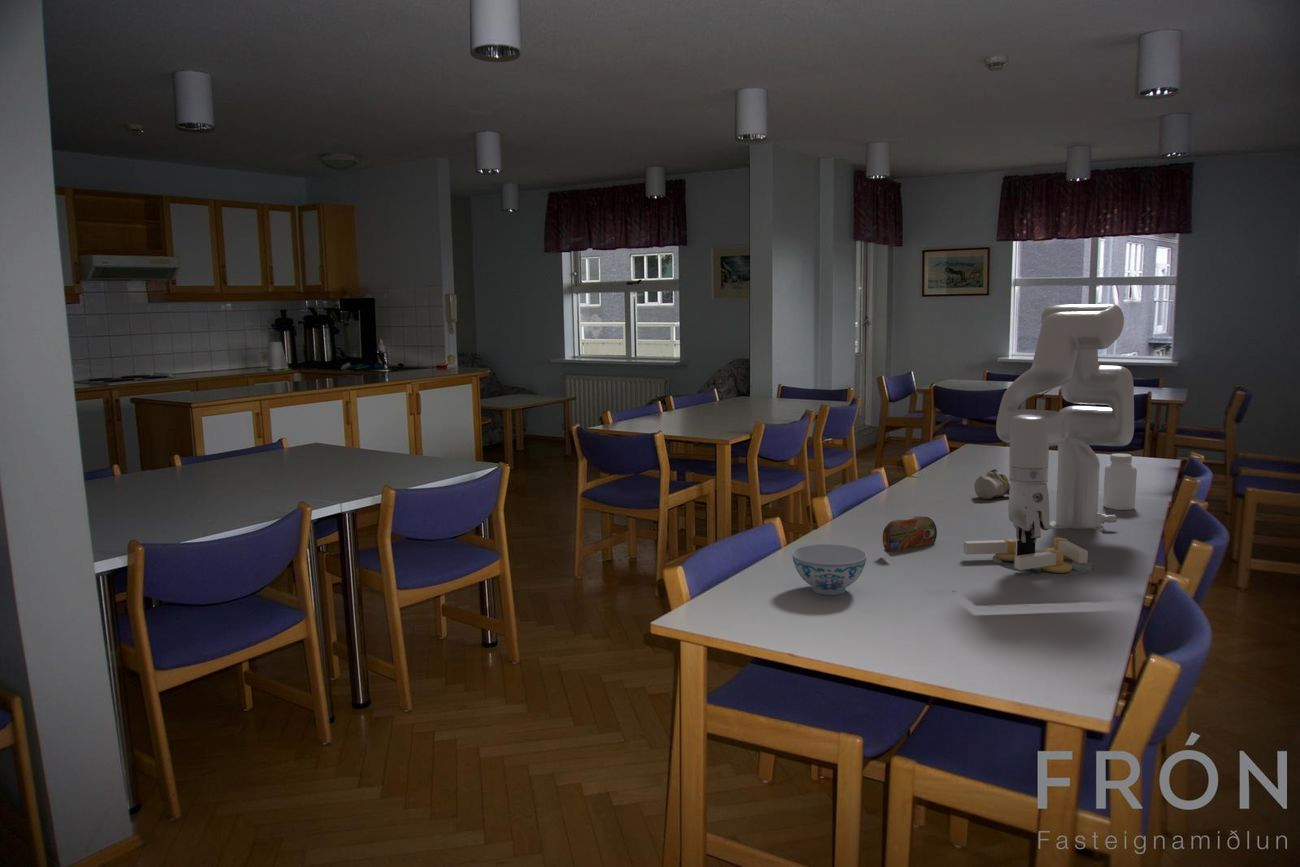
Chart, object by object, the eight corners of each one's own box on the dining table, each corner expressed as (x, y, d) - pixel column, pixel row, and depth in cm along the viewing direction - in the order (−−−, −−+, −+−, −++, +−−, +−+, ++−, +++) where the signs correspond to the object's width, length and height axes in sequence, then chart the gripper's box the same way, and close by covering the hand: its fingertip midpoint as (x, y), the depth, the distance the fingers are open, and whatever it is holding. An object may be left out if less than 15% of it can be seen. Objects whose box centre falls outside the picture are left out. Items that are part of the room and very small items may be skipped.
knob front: (1056, 563, 192) (1057, 546, 192) (1078, 571, 187) (1079, 553, 186) (1007, 570, 188) (1007, 553, 188) (1027, 578, 182) (1028, 560, 182)
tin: (889, 559, 206) (889, 523, 204) (879, 555, 208) (880, 520, 207) (937, 549, 212) (938, 515, 211) (927, 546, 215) (928, 512, 214)
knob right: (1040, 552, 201) (1040, 535, 201) (1066, 551, 201) (1067, 535, 201) (1068, 568, 188) (1069, 551, 188) (1096, 567, 188) (1097, 550, 188)
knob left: (1017, 553, 201) (1017, 536, 201) (1029, 560, 195) (1029, 543, 195) (959, 555, 201) (960, 538, 200) (970, 562, 195) (970, 545, 194)
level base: (1064, 554, 205) (1064, 541, 205) (1111, 580, 186) (1111, 565, 185) (977, 557, 205) (978, 543, 204) (1016, 583, 185) (1016, 568, 185)
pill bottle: (1104, 509, 249) (1106, 456, 247) (1101, 503, 256) (1104, 452, 254) (1136, 511, 246) (1139, 457, 244) (1133, 505, 253) (1135, 453, 251)
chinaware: (851, 606, 174) (852, 567, 173) (780, 594, 182) (780, 557, 181) (876, 585, 186) (876, 549, 185) (808, 575, 194) (808, 540, 193)
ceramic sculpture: (965, 468, 268) (995, 465, 277) (963, 496, 269) (993, 493, 278) (996, 473, 260) (1026, 470, 268) (994, 502, 261) (1024, 498, 269)
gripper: (1063, 480, 179) (1059, 569, 182) (1030, 467, 194) (1028, 549, 196) (1025, 482, 179) (1023, 570, 182) (996, 468, 194) (994, 550, 196)
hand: (1025, 559), depth 189 cm, fingers closed
